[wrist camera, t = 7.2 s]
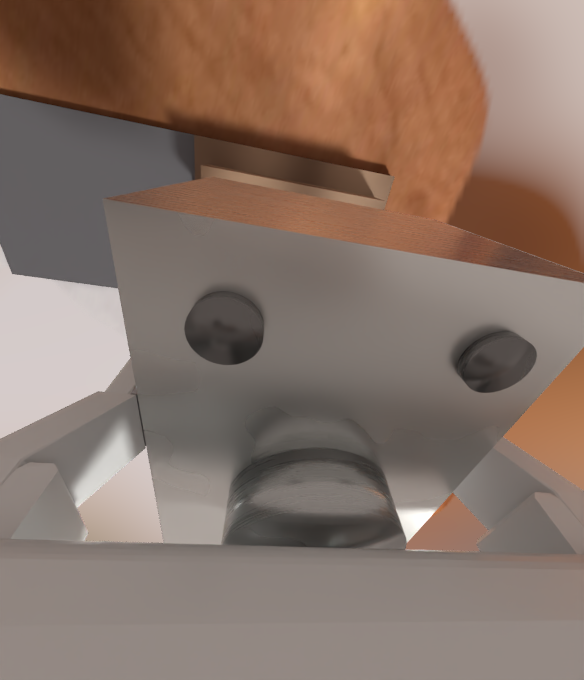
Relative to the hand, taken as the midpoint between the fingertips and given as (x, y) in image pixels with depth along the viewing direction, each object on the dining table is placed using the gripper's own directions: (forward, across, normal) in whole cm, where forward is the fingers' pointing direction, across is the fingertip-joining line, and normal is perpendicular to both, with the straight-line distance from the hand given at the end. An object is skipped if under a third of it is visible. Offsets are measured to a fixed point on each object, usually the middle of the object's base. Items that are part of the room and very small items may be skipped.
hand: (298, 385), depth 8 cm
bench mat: (+17, +14, 0) cm, 22 cm away
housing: (+2, 0, 0) cm, 2 cm away
